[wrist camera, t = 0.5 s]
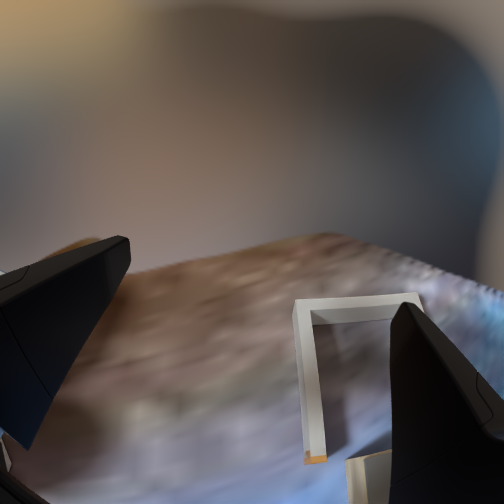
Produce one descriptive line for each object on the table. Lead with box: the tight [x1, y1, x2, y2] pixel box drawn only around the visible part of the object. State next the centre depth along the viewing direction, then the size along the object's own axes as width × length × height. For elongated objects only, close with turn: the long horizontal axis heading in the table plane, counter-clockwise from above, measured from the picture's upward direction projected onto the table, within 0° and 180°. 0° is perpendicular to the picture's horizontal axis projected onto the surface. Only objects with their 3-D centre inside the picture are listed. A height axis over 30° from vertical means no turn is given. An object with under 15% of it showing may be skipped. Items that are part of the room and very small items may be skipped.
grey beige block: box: [345, 449, 392, 504], centre depth 12 cm, size 8×5×4 cm, turn 2°
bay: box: [292, 292, 424, 465], centre depth 20 cm, size 12×11×2 cm
